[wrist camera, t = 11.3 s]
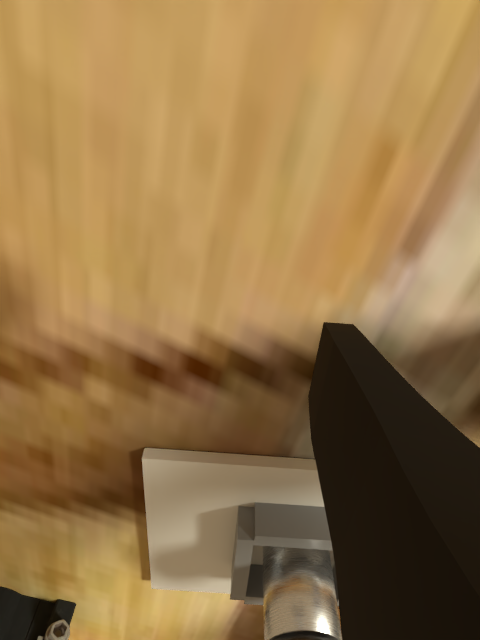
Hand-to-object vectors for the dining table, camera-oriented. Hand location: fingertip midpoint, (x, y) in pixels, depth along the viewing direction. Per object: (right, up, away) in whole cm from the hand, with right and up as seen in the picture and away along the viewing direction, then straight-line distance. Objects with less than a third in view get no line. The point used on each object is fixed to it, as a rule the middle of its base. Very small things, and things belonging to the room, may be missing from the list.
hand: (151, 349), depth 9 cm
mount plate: (+6, -14, +21) cm, 26 cm away
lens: (+6, -14, +21) cm, 26 cm away
